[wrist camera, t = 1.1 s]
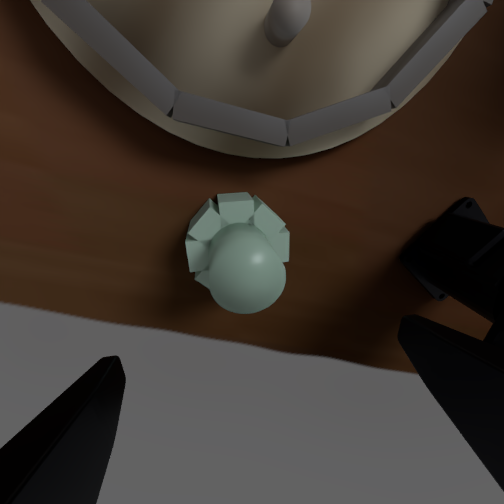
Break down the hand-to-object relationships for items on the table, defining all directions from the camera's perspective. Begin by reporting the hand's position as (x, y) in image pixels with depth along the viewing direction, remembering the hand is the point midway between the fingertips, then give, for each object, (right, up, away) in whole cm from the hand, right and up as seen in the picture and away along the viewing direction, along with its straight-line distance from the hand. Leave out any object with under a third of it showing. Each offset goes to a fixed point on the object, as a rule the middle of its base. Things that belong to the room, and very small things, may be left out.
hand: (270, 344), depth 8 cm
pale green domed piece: (-2, +4, +9) cm, 10 cm away
